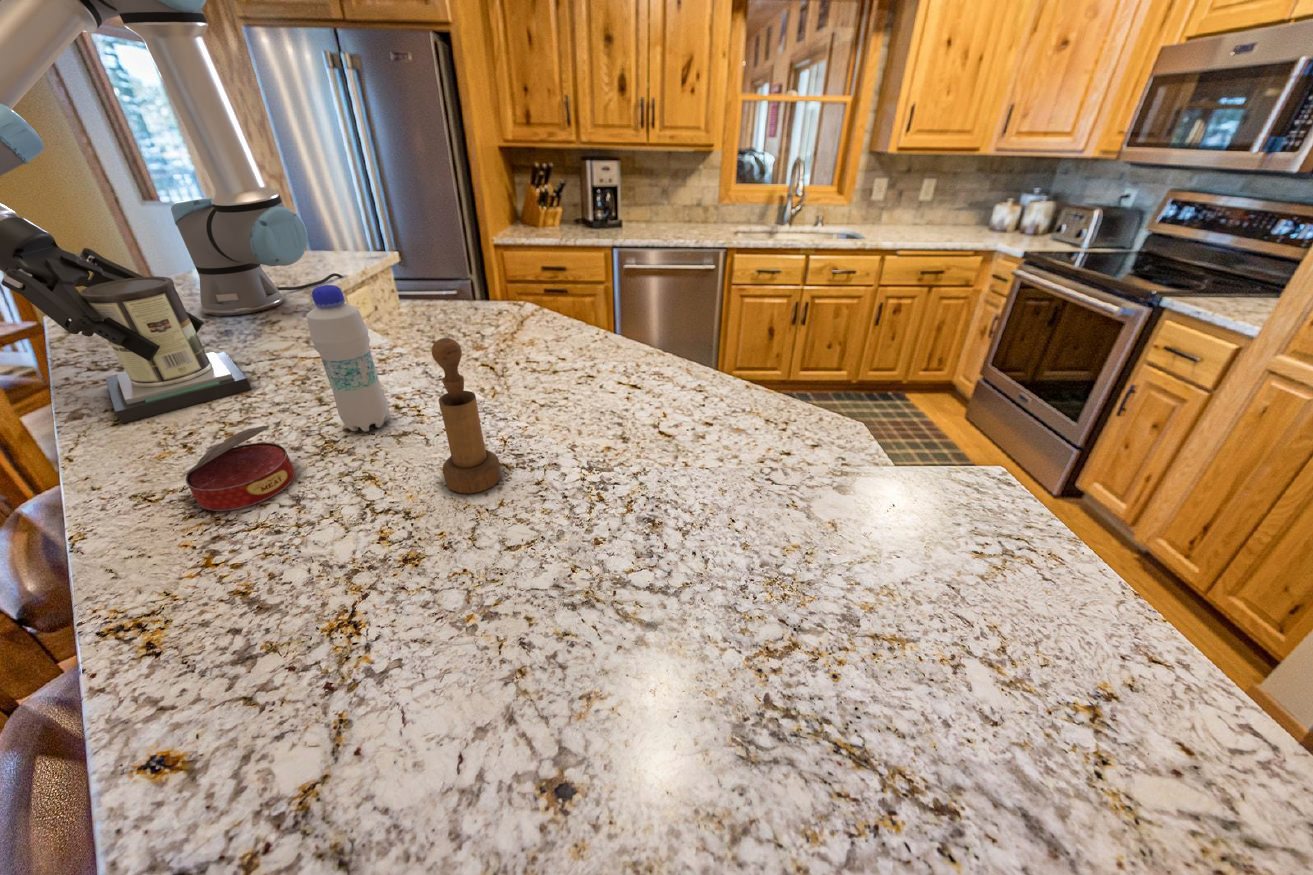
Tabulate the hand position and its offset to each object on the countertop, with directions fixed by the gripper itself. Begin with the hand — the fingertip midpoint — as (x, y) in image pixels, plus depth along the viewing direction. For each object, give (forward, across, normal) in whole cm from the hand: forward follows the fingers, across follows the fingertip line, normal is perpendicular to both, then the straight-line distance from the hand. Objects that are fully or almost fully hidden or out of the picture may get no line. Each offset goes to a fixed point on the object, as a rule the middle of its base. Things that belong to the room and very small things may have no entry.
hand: (178, 340), depth 82 cm
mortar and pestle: (+40, +31, +28) cm, 58 cm away
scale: (+4, 0, -8) cm, 9 cm away
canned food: (+21, +29, +9) cm, 37 cm away
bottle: (+28, +15, +16) cm, 35 cm away
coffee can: (+2, 0, -6) cm, 6 cm away
